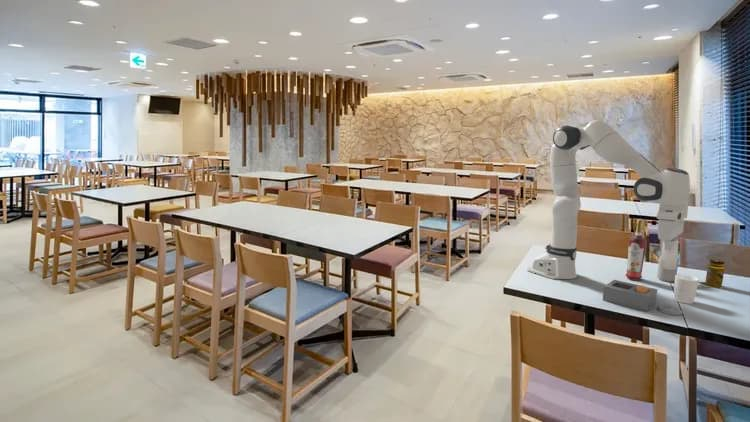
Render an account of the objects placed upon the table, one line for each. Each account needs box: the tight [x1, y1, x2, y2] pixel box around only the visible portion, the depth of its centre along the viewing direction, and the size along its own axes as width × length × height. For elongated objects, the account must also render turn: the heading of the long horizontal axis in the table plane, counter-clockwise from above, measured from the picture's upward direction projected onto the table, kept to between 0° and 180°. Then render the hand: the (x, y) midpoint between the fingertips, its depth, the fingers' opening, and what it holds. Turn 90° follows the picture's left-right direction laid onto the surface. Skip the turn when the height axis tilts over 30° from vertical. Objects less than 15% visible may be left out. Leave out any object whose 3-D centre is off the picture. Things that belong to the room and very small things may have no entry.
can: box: [656, 255, 680, 283], centre depth 205 cm, size 8×8×12 cm
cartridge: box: [661, 237, 680, 270], centre depth 166 cm, size 5×5×12 cm
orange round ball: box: [636, 284, 649, 293], centre depth 174 cm, size 4×4×4 cm
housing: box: [602, 279, 658, 312], centre depth 177 cm, size 16×12×6 cm
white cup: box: [673, 274, 700, 305], centre depth 179 cm, size 8×8×10 cm
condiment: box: [698, 258, 726, 290], centre depth 198 cm, size 7×8×12 cm
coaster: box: [657, 305, 683, 316], centre depth 169 cm, size 8×8×1 cm
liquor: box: [625, 219, 648, 281], centre depth 204 cm, size 7×7×28 cm
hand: (669, 248), depth 166 cm, fingers closed on cartridge, 5 cm apart
